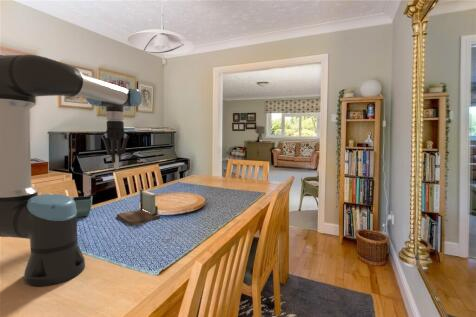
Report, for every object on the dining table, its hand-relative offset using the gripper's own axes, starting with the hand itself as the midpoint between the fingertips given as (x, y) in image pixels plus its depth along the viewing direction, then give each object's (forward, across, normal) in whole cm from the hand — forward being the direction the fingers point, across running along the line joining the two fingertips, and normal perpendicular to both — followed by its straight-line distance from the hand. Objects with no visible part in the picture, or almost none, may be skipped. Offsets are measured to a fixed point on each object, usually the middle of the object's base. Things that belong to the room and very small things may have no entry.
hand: (116, 168), depth 130 cm
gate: (+22, -13, +8) cm, 27 cm away
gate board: (+24, -8, +7) cm, 27 cm away
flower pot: (+25, +13, -13) cm, 31 cm away
